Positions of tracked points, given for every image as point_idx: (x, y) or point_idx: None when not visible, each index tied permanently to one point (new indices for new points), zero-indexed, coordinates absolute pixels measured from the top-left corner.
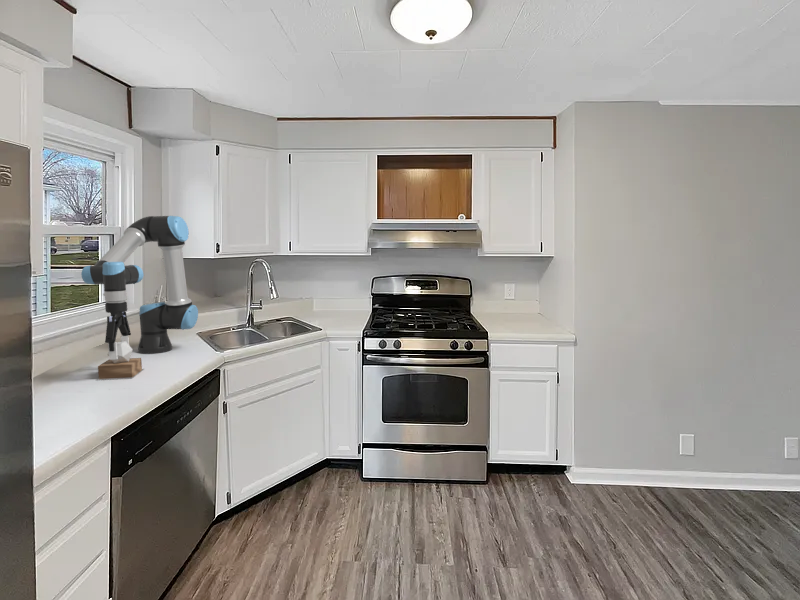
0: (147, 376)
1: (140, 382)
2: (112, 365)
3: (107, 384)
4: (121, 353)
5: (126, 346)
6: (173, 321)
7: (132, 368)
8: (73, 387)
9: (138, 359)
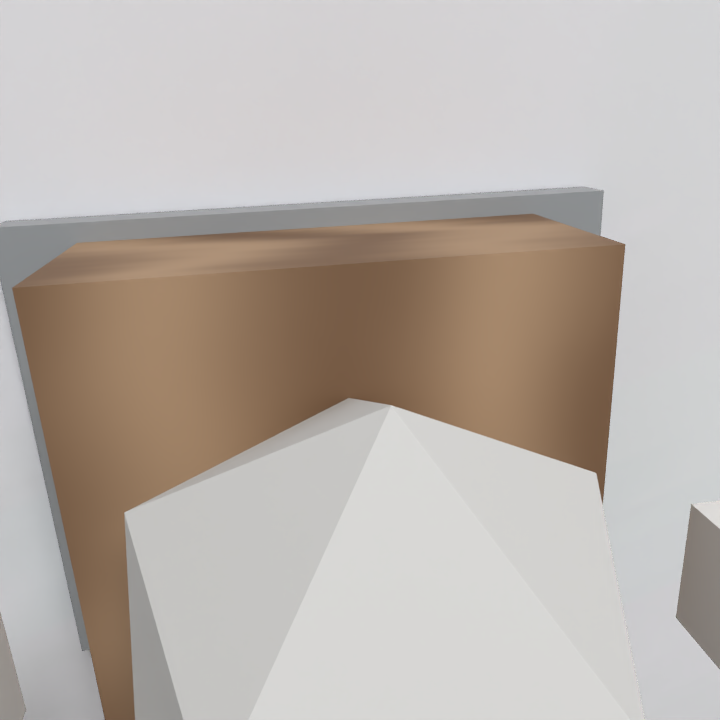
0: (314, 71)
1: (641, 56)
2: None
3: (628, 430)
4: (606, 535)
5: (515, 577)
6: None
7: (547, 234)
8: (653, 679)
9: (172, 285)
